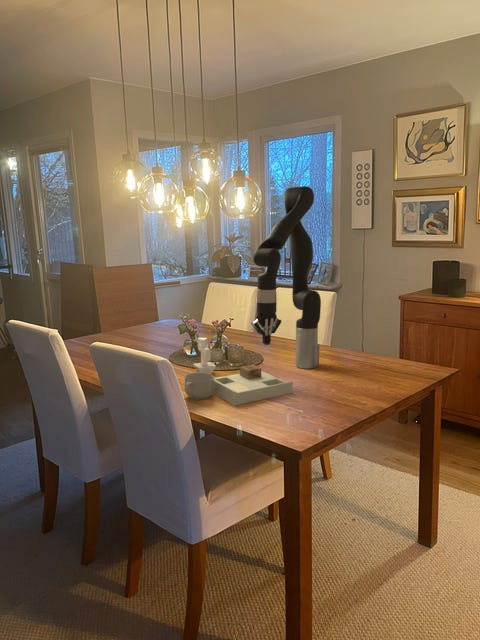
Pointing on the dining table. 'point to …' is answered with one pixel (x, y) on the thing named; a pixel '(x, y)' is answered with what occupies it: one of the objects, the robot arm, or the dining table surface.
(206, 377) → the teacup
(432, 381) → the dining table surface
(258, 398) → the box
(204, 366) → the figurine
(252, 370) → the block
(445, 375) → the dining table surface
